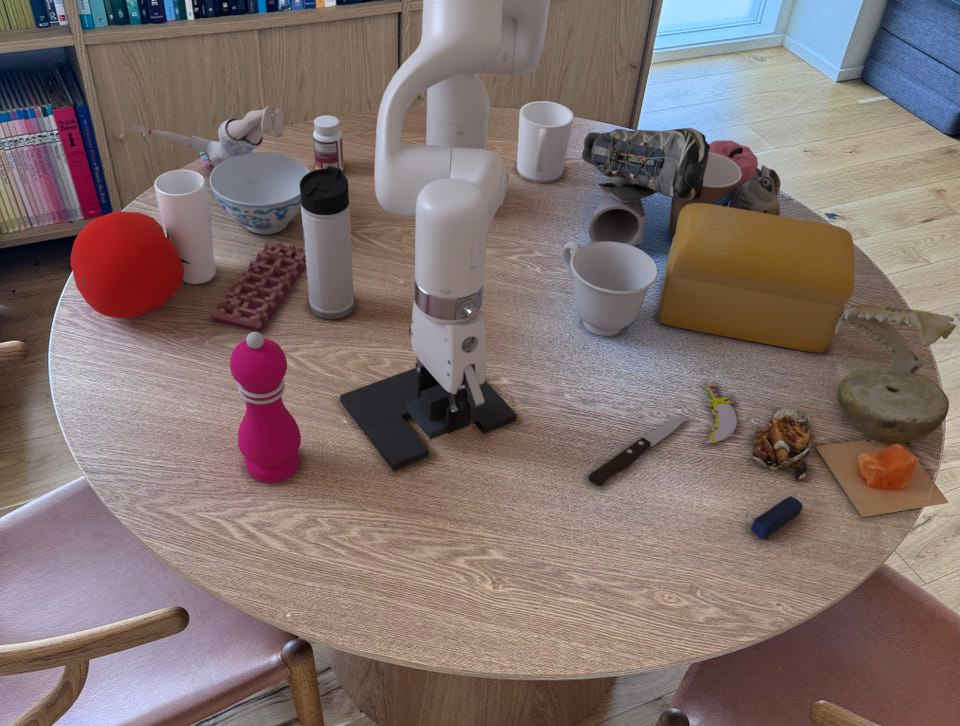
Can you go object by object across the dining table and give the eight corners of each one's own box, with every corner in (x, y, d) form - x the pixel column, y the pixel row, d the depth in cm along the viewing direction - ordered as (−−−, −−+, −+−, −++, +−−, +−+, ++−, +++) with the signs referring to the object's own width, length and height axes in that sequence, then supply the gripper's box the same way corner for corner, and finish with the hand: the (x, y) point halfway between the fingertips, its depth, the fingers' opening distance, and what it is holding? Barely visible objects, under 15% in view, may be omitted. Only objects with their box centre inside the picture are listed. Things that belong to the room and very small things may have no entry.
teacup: (584, 279, 142) (594, 221, 135) (661, 327, 135) (676, 269, 128) (529, 311, 136) (537, 252, 128) (607, 362, 129) (620, 303, 122)
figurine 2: (701, 198, 139) (754, 148, 137) (725, 239, 156) (772, 195, 154) (739, 237, 136) (794, 186, 134) (759, 274, 154) (808, 230, 151)
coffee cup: (694, 262, 147) (713, 193, 138) (645, 232, 151) (660, 163, 143) (734, 240, 152) (755, 172, 143) (686, 211, 156) (703, 144, 148)
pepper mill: (245, 443, 115) (222, 312, 100) (304, 442, 115) (290, 312, 100) (240, 487, 110) (214, 356, 95) (302, 486, 111) (287, 356, 96)
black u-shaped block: (459, 358, 128) (459, 351, 127) (516, 421, 120) (517, 414, 119) (340, 401, 121) (339, 394, 120) (393, 471, 113) (393, 464, 112)
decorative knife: (743, 444, 119) (704, 441, 119) (742, 446, 120) (703, 444, 119) (730, 384, 127) (693, 382, 127) (729, 387, 127) (692, 384, 127)
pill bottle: (326, 158, 161) (323, 111, 155) (349, 166, 160) (347, 119, 153) (309, 169, 158) (305, 122, 152) (332, 178, 157) (329, 130, 151)
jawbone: (916, 362, 133) (909, 403, 129) (825, 330, 135) (815, 369, 130) (962, 302, 123) (955, 344, 119) (862, 268, 125) (853, 308, 120)
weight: (829, 360, 126) (820, 391, 130) (858, 418, 116) (848, 450, 119) (929, 361, 126) (918, 392, 130) (968, 419, 116) (955, 451, 119)
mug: (517, 154, 166) (522, 98, 158) (567, 161, 165) (575, 104, 158) (509, 186, 159) (515, 129, 151) (562, 193, 158) (570, 136, 150)
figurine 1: (364, 161, 138) (289, 201, 164) (368, 122, 138) (292, 168, 163) (168, 108, 123) (118, 161, 148) (171, 63, 123) (121, 124, 148)
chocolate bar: (313, 257, 141) (312, 246, 140) (260, 331, 129) (258, 320, 127) (269, 247, 142) (267, 236, 141) (212, 320, 130) (209, 308, 128)
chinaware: (274, 261, 140) (269, 215, 134) (196, 228, 144) (188, 183, 138) (334, 216, 149) (331, 171, 143) (258, 186, 153) (253, 142, 148)
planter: (583, 140, 161) (591, 203, 142) (633, 143, 162) (648, 207, 142) (577, 183, 167) (585, 251, 147) (626, 186, 167) (640, 254, 147)
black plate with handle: (453, 392, 120) (455, 367, 117) (478, 420, 116) (481, 395, 113) (405, 410, 117) (406, 385, 114) (430, 440, 114) (431, 414, 111)
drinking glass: (210, 292, 134) (193, 198, 123) (165, 284, 135) (144, 190, 124) (228, 265, 139) (213, 173, 127) (185, 258, 139) (166, 165, 128)
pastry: (811, 419, 124) (820, 399, 121) (805, 482, 116) (815, 462, 114) (758, 406, 125) (766, 386, 122) (749, 468, 117) (757, 448, 115)
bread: (655, 324, 135) (678, 235, 124) (663, 274, 144) (685, 186, 133) (826, 356, 133) (865, 267, 122) (823, 303, 141) (859, 215, 130)
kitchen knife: (600, 483, 112) (588, 474, 113) (599, 489, 113) (587, 479, 114) (691, 416, 122) (679, 408, 123) (690, 421, 122) (678, 413, 123)
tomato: (120, 337, 121) (212, 304, 129) (84, 231, 115) (183, 203, 122) (71, 319, 132) (159, 290, 139) (36, 221, 125) (130, 196, 133)
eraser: (805, 504, 111) (767, 529, 108) (799, 516, 112) (762, 541, 109) (790, 493, 112) (753, 517, 109) (785, 505, 113) (748, 529, 110)
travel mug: (362, 298, 135) (357, 171, 121) (342, 324, 131) (335, 196, 116) (322, 287, 136) (313, 161, 122) (302, 313, 132) (289, 185, 117)
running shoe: (707, 222, 133) (631, 212, 129) (625, 199, 157) (559, 190, 154) (728, 132, 129) (650, 119, 125) (640, 122, 153) (573, 111, 149)
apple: (754, 194, 162) (771, 140, 154) (736, 216, 157) (752, 161, 149) (703, 176, 165) (718, 122, 158) (683, 197, 160) (697, 142, 152)
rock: (815, 447, 121) (825, 424, 117) (898, 435, 123) (911, 411, 120) (861, 517, 113) (874, 494, 110) (949, 502, 115) (964, 479, 112)
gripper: (520, 325, 100) (506, 444, 113) (437, 244, 109) (433, 362, 122) (461, 347, 97) (453, 466, 110) (380, 261, 106) (382, 381, 119)
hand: (443, 410), depth 116 cm, fingers closed on black plate with handle, 6 cm apart
